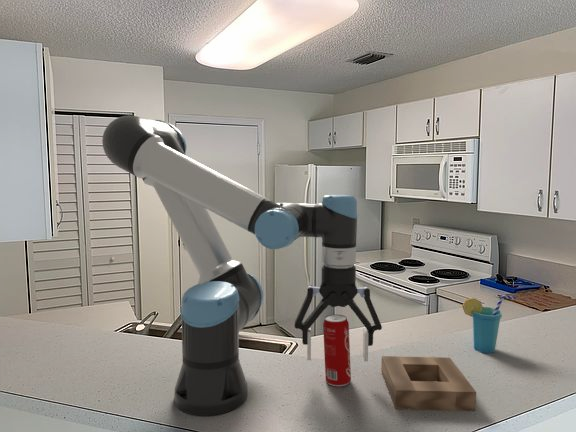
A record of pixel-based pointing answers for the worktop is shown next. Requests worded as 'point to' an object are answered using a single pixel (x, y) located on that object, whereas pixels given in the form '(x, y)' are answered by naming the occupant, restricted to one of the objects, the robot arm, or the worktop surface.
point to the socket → (427, 384)
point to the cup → (484, 323)
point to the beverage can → (337, 350)
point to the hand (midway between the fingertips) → (337, 358)
